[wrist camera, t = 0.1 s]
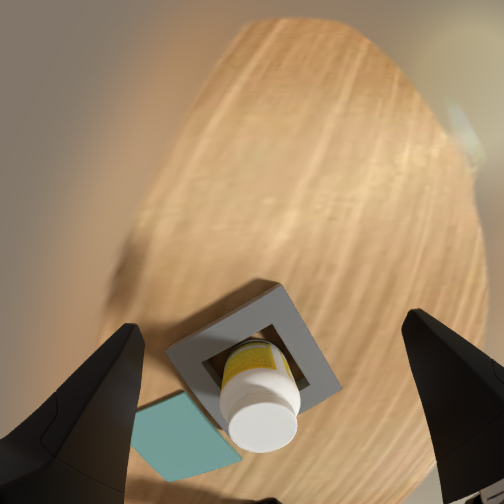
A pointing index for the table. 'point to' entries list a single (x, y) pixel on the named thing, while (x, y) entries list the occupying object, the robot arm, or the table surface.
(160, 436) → the mat
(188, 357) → the socket block
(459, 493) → the robot arm
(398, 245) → the table surface
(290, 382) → the supplement bottle
